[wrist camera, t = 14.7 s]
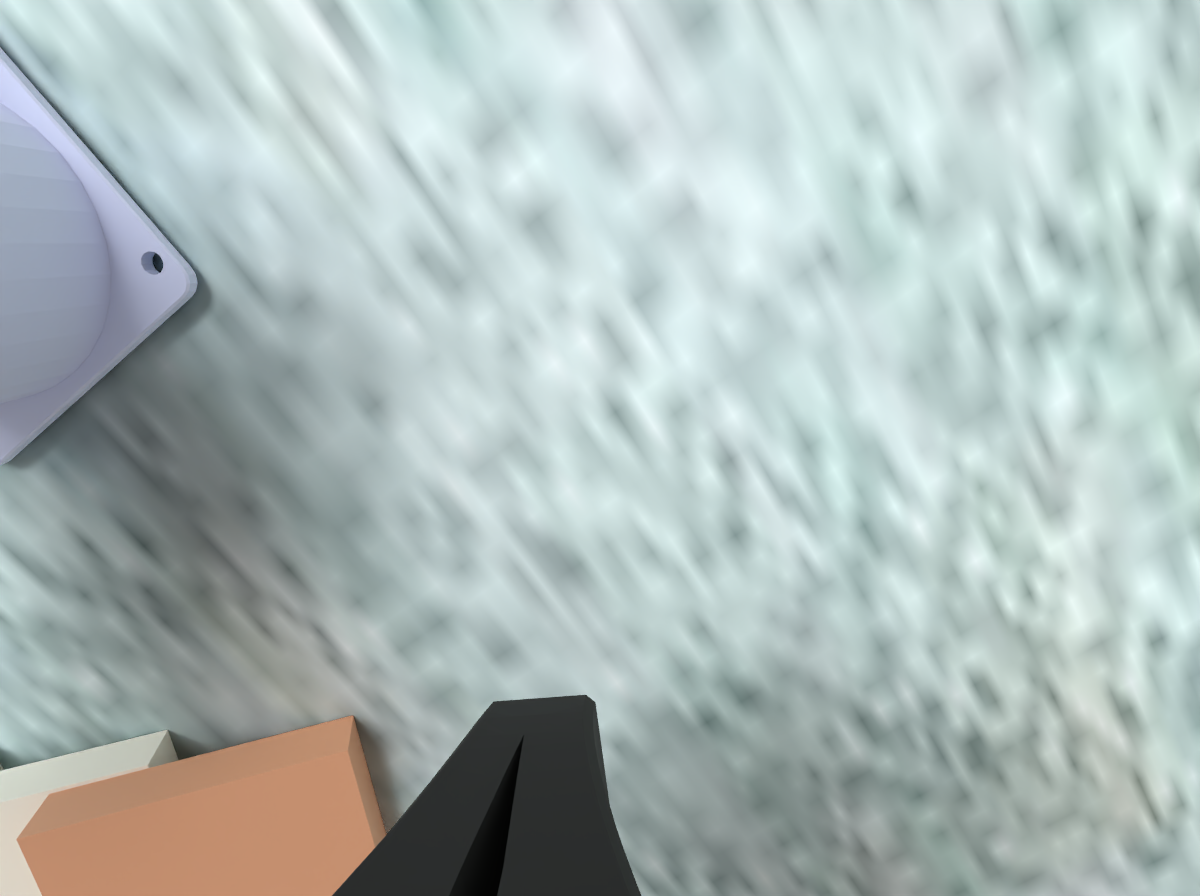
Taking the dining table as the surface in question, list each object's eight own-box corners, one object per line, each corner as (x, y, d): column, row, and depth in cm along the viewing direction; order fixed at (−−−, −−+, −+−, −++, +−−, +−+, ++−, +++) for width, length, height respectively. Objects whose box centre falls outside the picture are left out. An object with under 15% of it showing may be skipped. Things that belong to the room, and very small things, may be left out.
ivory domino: (210, 849, 22) (-81, 931, 21) (167, 729, 21) (-145, 806, 19) (194, 891, 21) (-120, 983, 19) (147, 765, 19) (-194, 851, 18)
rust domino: (387, 838, 22) (104, 921, 20) (353, 715, 20) (48, 794, 19) (384, 880, 20) (78, 973, 19) (347, 750, 19) (16, 839, 17)
